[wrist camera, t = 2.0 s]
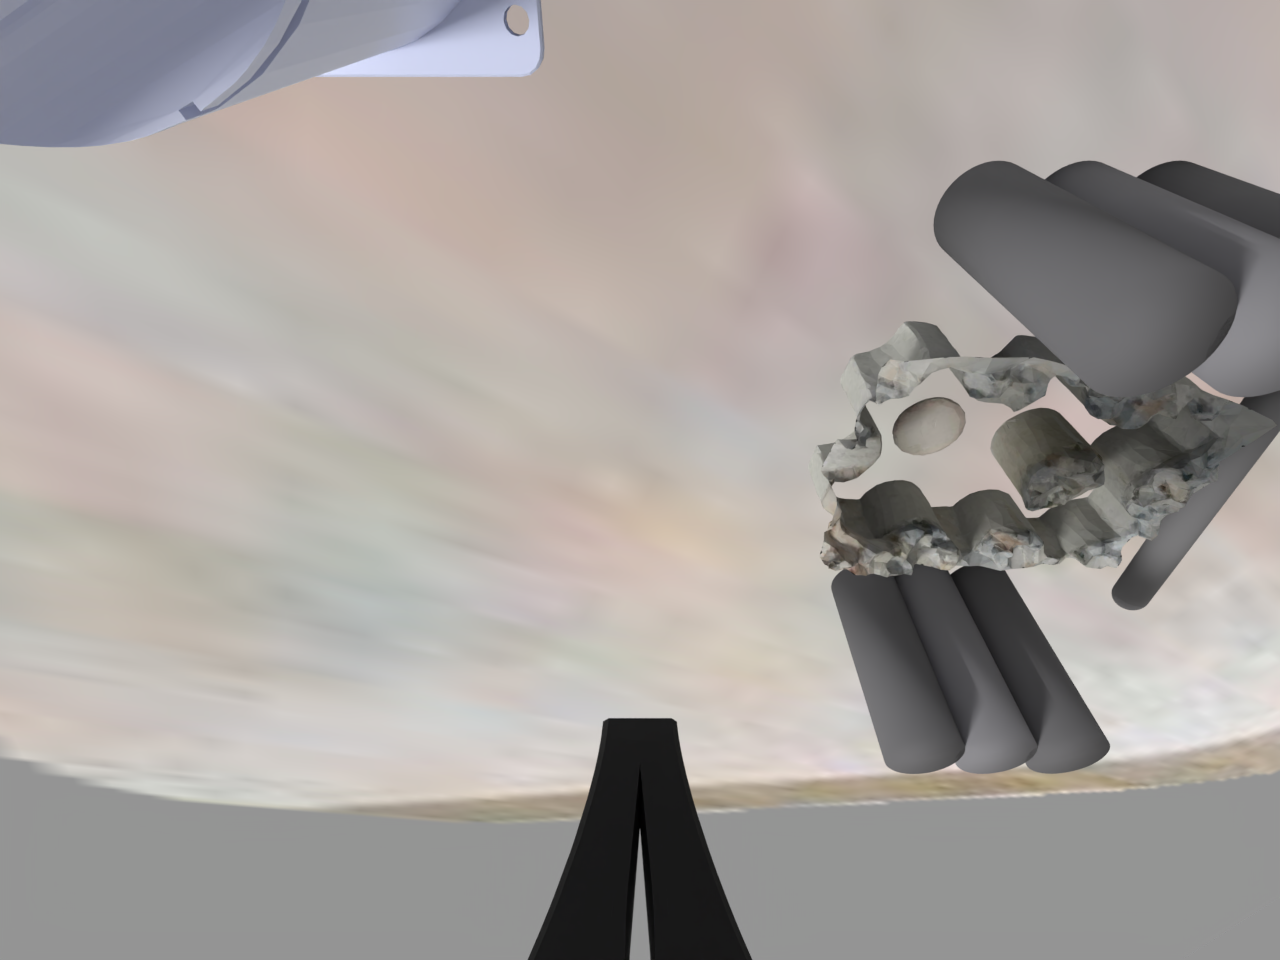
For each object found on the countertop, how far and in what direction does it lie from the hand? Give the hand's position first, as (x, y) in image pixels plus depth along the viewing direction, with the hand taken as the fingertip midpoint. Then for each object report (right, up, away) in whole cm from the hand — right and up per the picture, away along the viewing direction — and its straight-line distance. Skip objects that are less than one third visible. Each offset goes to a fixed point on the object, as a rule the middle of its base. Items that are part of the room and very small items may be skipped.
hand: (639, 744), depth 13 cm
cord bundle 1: (+11, +1, +12) cm, 17 cm away
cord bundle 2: (+11, +12, +4) cm, 17 cm away
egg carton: (+11, +7, +8) cm, 15 cm away
